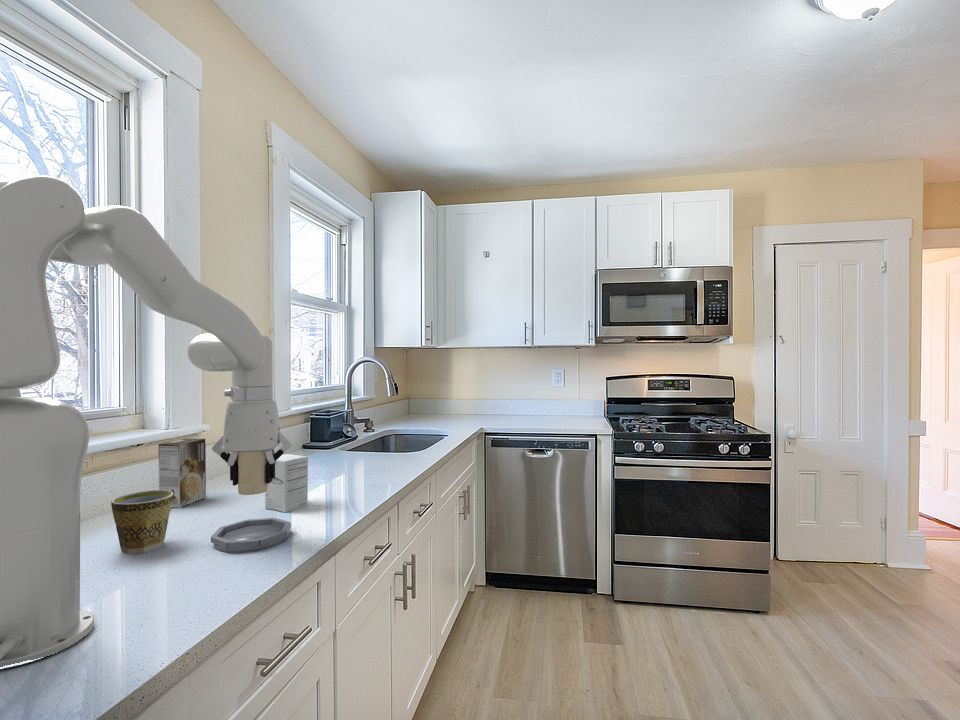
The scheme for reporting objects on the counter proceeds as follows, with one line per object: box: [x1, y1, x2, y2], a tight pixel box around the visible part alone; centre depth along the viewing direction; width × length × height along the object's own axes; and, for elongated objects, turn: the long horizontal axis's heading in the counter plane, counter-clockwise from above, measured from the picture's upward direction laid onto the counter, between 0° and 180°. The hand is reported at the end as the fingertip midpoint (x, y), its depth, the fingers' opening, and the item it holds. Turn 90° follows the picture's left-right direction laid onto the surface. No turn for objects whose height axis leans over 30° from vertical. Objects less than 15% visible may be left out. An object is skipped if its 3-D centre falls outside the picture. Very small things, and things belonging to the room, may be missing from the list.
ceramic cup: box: [110, 489, 173, 555], centre depth 95 cm, size 13×10×10 cm
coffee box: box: [158, 438, 207, 508], centre depth 125 cm, size 9×6×16 cm
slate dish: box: [210, 517, 292, 554], centre depth 99 cm, size 14×14×2 cm
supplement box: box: [264, 453, 309, 513], centre depth 121 cm, size 7×7×13 cm
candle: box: [237, 451, 268, 496], centre depth 99 cm, size 6×6×10 cm
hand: (253, 482), depth 99 cm, fingers closed on candle, 5 cm apart
